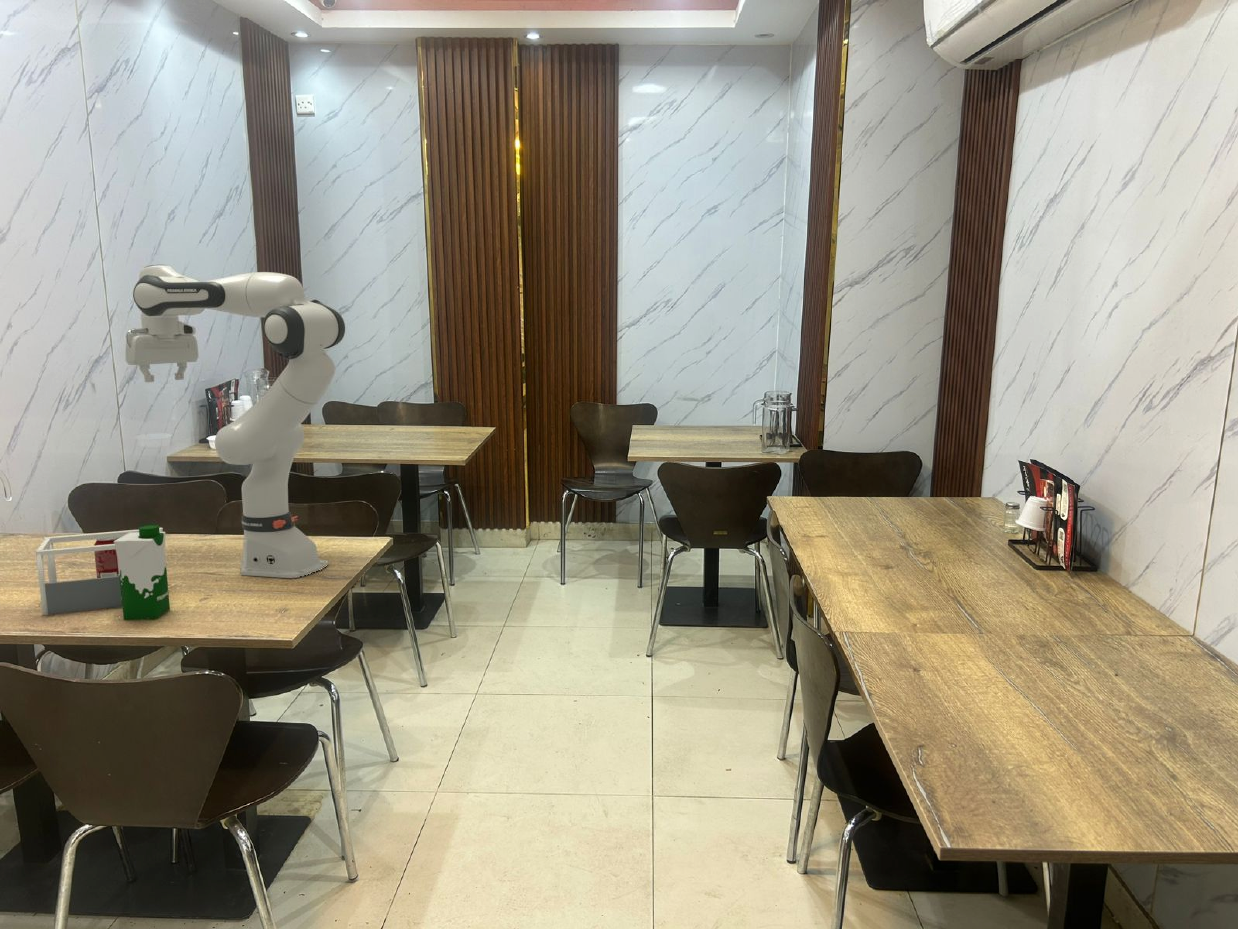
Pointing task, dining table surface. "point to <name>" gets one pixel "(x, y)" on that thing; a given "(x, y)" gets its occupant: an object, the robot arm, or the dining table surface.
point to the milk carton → (143, 573)
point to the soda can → (106, 559)
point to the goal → (77, 591)
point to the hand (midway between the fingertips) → (164, 380)
